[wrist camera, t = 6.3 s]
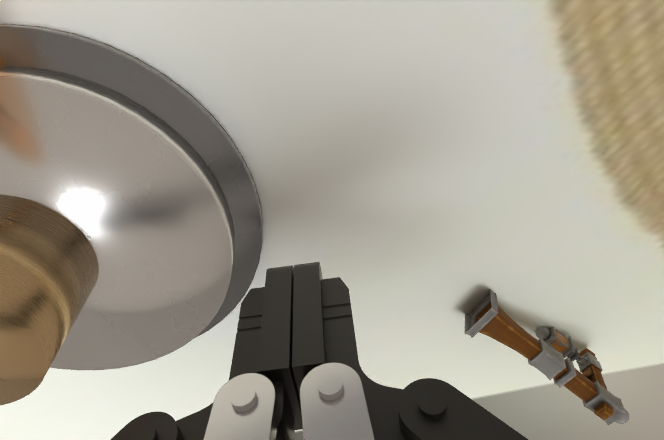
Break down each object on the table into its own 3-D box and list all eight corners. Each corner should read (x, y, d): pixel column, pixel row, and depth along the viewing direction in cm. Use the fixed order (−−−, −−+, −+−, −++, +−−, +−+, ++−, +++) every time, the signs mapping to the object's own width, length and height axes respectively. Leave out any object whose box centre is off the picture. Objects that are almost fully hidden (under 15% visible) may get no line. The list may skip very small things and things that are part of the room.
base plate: (212, -6, 13) (210, -4, 13) (288, 328, 21) (288, 334, 20) (-267, 57, 13) (-283, 60, 12) (-11, 369, 20) (-16, 376, 20)
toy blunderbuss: (589, 377, 23) (615, 445, 19) (465, 287, 23) (464, 336, 19) (617, 356, 22) (650, 423, 18) (487, 264, 23) (491, 310, 19)
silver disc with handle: (262, 327, 19) (257, 403, 16) (-9, 364, 19) (-68, 448, 16) (135, -134, 11) (69, -164, 8) (-362, -71, 11) (-644, -74, 7)
